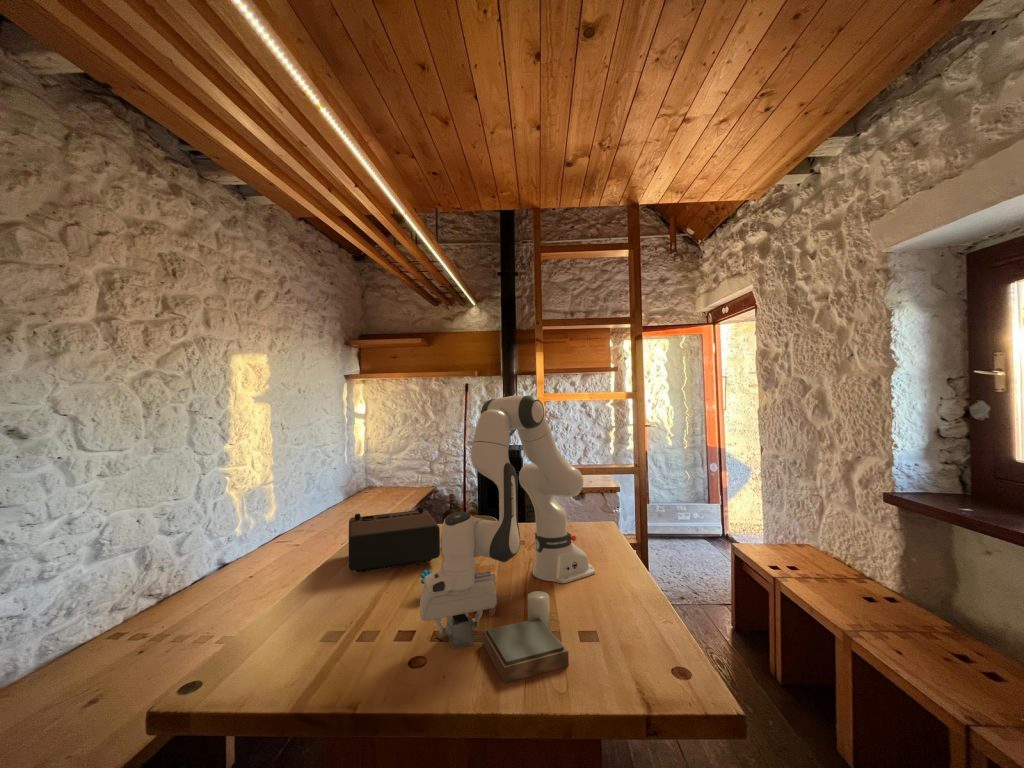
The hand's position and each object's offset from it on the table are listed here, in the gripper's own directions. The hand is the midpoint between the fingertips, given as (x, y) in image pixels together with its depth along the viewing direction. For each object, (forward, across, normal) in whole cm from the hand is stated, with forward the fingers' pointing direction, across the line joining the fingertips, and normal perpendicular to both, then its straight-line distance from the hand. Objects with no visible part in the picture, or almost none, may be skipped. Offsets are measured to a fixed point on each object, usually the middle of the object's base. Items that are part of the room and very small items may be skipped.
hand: (459, 629), depth 112 cm
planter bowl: (+2, -25, -67) cm, 72 cm away
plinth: (+2, -13, +13) cm, 19 cm away
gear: (+3, +2, -28) cm, 28 cm away
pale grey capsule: (+2, -22, +2) cm, 22 cm away
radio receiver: (+3, +10, -65) cm, 66 cm away
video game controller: (+3, -10, -12) cm, 16 cm away
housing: (+2, 0, 0) cm, 3 cm away
